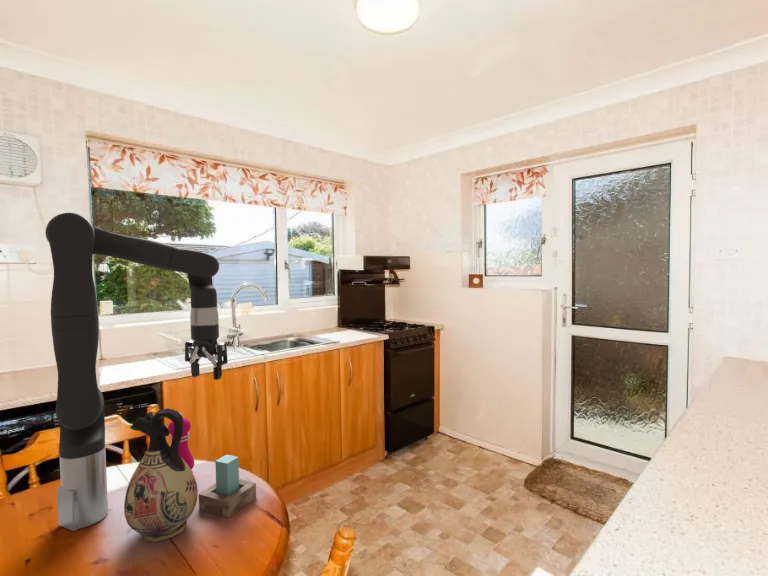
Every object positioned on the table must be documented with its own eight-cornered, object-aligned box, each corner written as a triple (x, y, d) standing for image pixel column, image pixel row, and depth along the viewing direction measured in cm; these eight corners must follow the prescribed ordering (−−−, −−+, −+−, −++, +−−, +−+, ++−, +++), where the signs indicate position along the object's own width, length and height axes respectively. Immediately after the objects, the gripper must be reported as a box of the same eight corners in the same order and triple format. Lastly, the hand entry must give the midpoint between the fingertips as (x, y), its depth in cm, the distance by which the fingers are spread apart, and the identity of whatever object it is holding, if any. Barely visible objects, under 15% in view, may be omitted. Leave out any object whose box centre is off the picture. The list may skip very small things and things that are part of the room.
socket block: (228, 518, 104) (228, 502, 104) (199, 509, 108) (198, 494, 108) (256, 497, 113) (255, 483, 113) (227, 490, 117) (227, 476, 117)
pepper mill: (184, 487, 119) (181, 418, 118) (161, 485, 120) (159, 416, 119) (200, 474, 126) (197, 409, 125) (178, 472, 127) (176, 408, 126)
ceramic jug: (108, 550, 93) (102, 417, 91) (155, 509, 108) (151, 395, 106) (178, 556, 90) (173, 420, 89) (217, 514, 106) (213, 397, 104)
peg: (228, 508, 108) (227, 463, 107) (216, 505, 110) (215, 460, 109) (239, 500, 112) (238, 457, 111) (228, 497, 113) (226, 454, 113)
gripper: (176, 323, 121) (178, 378, 122) (213, 325, 115) (214, 383, 116) (197, 320, 128) (199, 372, 129) (233, 322, 122) (234, 377, 123)
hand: (206, 377), depth 122 cm, fingers open, 8 cm apart
